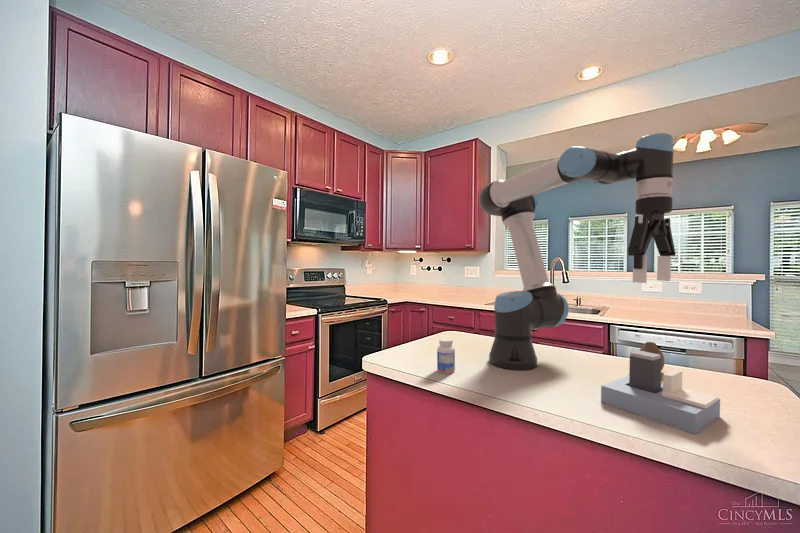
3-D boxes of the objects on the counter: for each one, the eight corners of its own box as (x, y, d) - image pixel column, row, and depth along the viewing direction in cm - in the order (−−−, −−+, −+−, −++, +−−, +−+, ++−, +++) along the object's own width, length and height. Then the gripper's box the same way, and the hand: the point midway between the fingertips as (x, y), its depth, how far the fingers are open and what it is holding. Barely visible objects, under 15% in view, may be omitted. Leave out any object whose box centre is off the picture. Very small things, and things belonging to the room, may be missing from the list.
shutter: (661, 396, 76) (662, 374, 76) (674, 389, 80) (675, 369, 79) (705, 408, 69) (705, 385, 69) (717, 401, 73) (717, 378, 73)
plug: (629, 401, 83) (629, 352, 83) (636, 398, 85) (637, 350, 85) (653, 409, 79) (653, 357, 78) (660, 405, 81) (661, 354, 80)
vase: (639, 373, 103) (640, 344, 103) (634, 366, 110) (634, 339, 110) (667, 376, 101) (668, 346, 101) (660, 369, 107) (660, 341, 107)
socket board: (601, 401, 83) (601, 385, 82) (629, 389, 90) (629, 374, 90) (695, 434, 67) (695, 414, 67) (719, 416, 75) (720, 398, 75)
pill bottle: (441, 367, 109) (441, 336, 109) (457, 369, 106) (457, 338, 106) (434, 372, 104) (434, 340, 104) (451, 375, 102) (451, 342, 101)
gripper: (647, 190, 77) (646, 284, 77) (691, 200, 90) (689, 280, 91) (612, 195, 83) (611, 282, 84) (658, 203, 96) (656, 279, 97)
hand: (652, 281), depth 87 cm, fingers open, 13 cm apart
